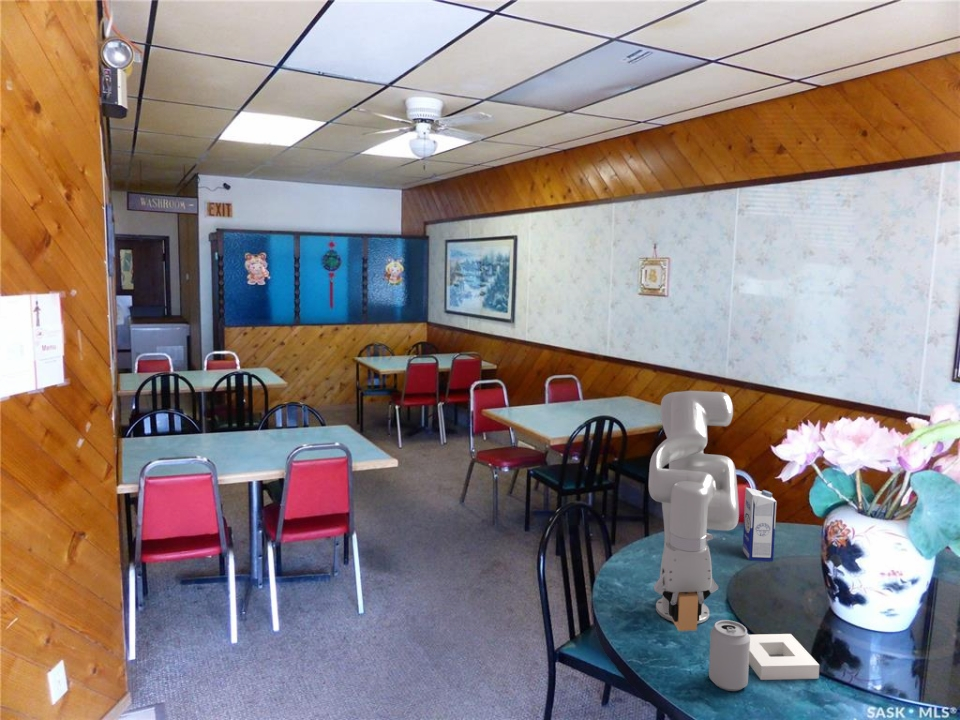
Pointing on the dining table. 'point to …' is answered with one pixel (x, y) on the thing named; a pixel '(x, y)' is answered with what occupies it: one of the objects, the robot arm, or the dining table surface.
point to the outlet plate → (781, 658)
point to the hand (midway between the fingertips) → (684, 617)
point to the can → (729, 655)
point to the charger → (687, 611)
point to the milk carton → (759, 525)
